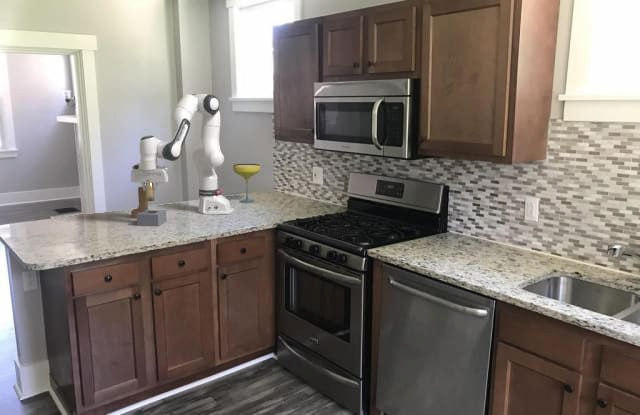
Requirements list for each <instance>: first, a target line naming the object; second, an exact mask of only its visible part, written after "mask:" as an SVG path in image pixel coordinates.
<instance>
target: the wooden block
mask: <svg viewBox="0 0 640 415" xmlns="http://www.w3.org/2000/svg"><path fill="white" fill-rule="evenodd" d="M137 194H138V195H137V196H138V207H137V208H134V209H131V213H130V214H131V219H137V214H138V213H140V212H142V211H144V210H149V201H147V192H146V191H144V188H143V186H139V187H138V188H137Z"/></svg>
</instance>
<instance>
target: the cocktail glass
mask: <svg viewBox="0 0 640 415" xmlns="http://www.w3.org/2000/svg"><path fill="white" fill-rule="evenodd" d="M232 169H233V172H234V173H235V174H237V175H239V176H241V177H242V178H244V180H245V181H246V183H245V184H248V181H249V179H251V178H252V177H253V176H255V175H256V174H258V173H259V172H260V171H261V166H260V164H256V163H237V164H234V165H233V166H232ZM248 192H249V190H248V187H246V196H245V197H246V198H245V199H241V200H239V201H238V202H239V203H242V204H251V203H255V202H256V200H254V199H249V194H248Z"/></svg>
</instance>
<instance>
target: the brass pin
mask: <svg viewBox="0 0 640 415" xmlns="http://www.w3.org/2000/svg"><path fill="white" fill-rule="evenodd" d="M145 186H146V192H147V201H148V202H155V191H153V188H154V187H155V183H151V182H150V180H147V183H145Z"/></svg>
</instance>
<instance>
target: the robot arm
mask: <svg viewBox="0 0 640 415" xmlns="http://www.w3.org/2000/svg"><path fill="white" fill-rule="evenodd" d="M219 109H220V101H219V98H218V97H217V96H216V95H214V94H206V93H198V94H197V93H194V94H186V93H185V94H184V95H183V96H182V97H181V98H180V100H179V101H177V103H176V104H175V106H174V108H173V110H172V112H171V115H170V117H171V120H172V122H173V124H174V125H175V126H177V127H176V131H175V133H174V135H173V138H172V140H170V141H163V140H160V139H158V138H157V137H156V136H154V135H146V136H143V137H141V138H140V141H139V153H140V159H139V162H138V163H136V164H133V165H131V172H130V181H131V183H139V184H141V187H143V188H144V191H146V183H147V180H150V182H151V183H154V188H153V191H154V192H157V191H158V187H159V184H166V183H168V182H169V176H168V175H169V174H168V171H169V169H168V168H167V166H165V165H163V166H162V165H158V159H162V160H167V161H170V162H174V161H177V160H178V159H179V158H180V157H181V155H182V149H183V145H184V143H185V141H186V139H187V136H188V133H189V131H190V129H191V128H190V127H191V121H192V118H193V117H194V116H195V113H200V114H201V115H202V120H201V130H200V139H201V141H202V144H203V147H200V148H199V147H198V148H196V149H195V150H193V152H192V154H191V158H192V161H193V162H194V164H195V166H196V170H197V174H198V180H199V182H198V183H199V189H198V196H199V197H198V198H199V203H198V209H197V212H198V213H200V214H203V215H230V214H232V213H234V212H235V208H234V207H232V206H231V202H230V200H229V199H227V198H226V197H225V196H224V195H223V194H222V189H219V184H218V179H219V178H218V174H217V173H216V171H215V169H214V168H219V167H221V166H222V165H223V164H224V162H225V156H224V154H223V153H222V151H221V145H220V144H221V143H220V134H221V121H222V120H221V112H220V110H219Z"/></svg>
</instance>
